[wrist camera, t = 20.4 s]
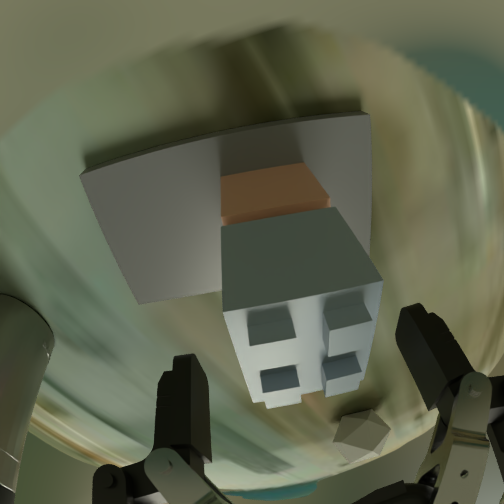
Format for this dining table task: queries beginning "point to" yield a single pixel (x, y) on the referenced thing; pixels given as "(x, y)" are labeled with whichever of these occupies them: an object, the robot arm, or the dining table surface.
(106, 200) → the baseplate
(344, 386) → the brick slate
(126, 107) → the dining table surface
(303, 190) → the brick terracotta
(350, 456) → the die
